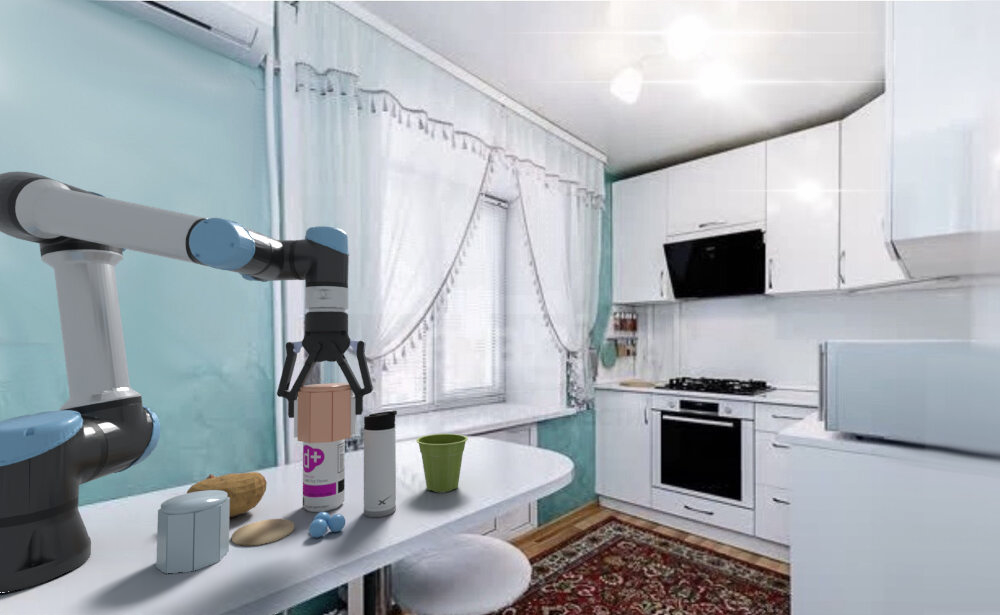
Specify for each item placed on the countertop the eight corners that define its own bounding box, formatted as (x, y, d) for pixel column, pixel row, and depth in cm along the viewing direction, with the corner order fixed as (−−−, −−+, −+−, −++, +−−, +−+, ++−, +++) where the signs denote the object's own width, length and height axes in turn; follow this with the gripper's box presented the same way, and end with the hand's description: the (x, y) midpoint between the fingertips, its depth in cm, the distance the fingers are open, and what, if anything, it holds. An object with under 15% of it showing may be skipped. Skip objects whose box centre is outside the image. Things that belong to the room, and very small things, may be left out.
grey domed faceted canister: (146, 576, 69) (147, 512, 69) (177, 548, 77) (178, 492, 78) (212, 569, 70) (213, 507, 71) (235, 543, 79) (236, 488, 80)
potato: (188, 514, 93) (189, 474, 93) (267, 503, 99) (267, 465, 99) (178, 533, 84) (179, 488, 84) (265, 519, 90) (265, 477, 90)
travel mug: (389, 518, 89) (388, 413, 90) (357, 516, 90) (357, 413, 91) (402, 506, 95) (402, 408, 96) (372, 505, 96) (372, 408, 97)
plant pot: (477, 489, 105) (477, 439, 106) (430, 500, 98) (430, 447, 99) (453, 476, 115) (452, 431, 115) (408, 486, 108) (408, 437, 109)
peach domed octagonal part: (293, 444, 79) (293, 389, 79) (306, 433, 88) (306, 384, 88) (348, 441, 80) (348, 387, 81) (355, 430, 89) (355, 382, 90)
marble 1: (311, 533, 83) (311, 516, 83) (315, 526, 86) (315, 510, 86) (329, 531, 83) (329, 514, 83) (332, 525, 86) (332, 508, 86)
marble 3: (326, 535, 82) (326, 518, 82) (329, 528, 85) (329, 512, 85) (344, 534, 82) (344, 516, 82) (346, 527, 85) (346, 510, 85)
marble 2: (307, 541, 80) (307, 523, 80) (311, 533, 82) (311, 516, 83) (325, 539, 80) (325, 521, 80) (328, 532, 83) (328, 515, 83)
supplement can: (319, 516, 91) (320, 438, 92) (294, 508, 95) (294, 434, 96) (352, 503, 98) (353, 431, 98) (327, 496, 102) (327, 427, 103)
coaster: (222, 548, 77) (222, 544, 77) (244, 524, 87) (244, 521, 87) (285, 542, 79) (285, 539, 79) (300, 520, 89) (300, 516, 89)
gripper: (257, 310, 80) (254, 442, 79) (385, 309, 84) (385, 435, 82) (270, 312, 87) (268, 433, 86) (388, 312, 91) (388, 427, 90)
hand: (326, 434), depth 84 cm, fingers closed on peach domed octagonal part, 9 cm apart
